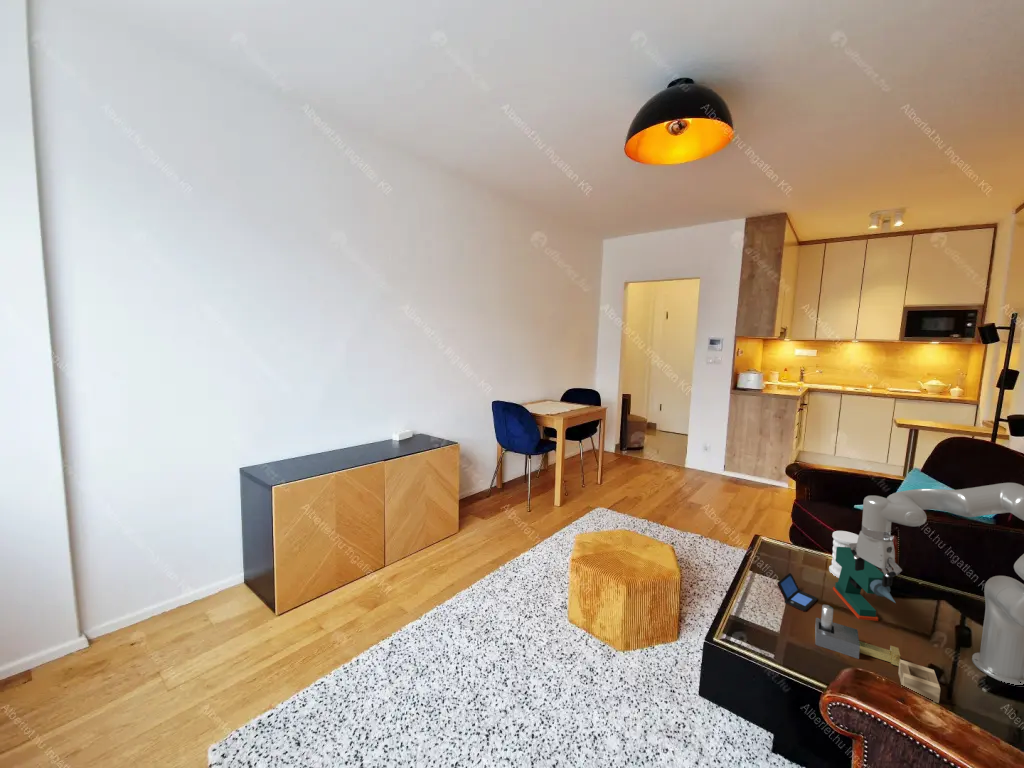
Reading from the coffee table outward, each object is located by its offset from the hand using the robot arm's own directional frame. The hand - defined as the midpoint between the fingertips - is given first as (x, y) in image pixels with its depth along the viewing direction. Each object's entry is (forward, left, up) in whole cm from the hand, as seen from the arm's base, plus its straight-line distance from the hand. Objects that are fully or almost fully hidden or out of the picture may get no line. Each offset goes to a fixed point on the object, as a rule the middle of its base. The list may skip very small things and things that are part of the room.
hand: (872, 577), depth 147 cm
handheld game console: (+21, -14, -25) cm, 36 cm away
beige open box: (-11, +16, -25) cm, 31 cm away
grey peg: (+12, +7, -25) cm, 29 cm away
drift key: (-1, +7, -25) cm, 25 cm away
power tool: (-1, -16, -25) cm, 30 cm away
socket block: (+9, +7, -25) cm, 27 cm away
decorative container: (+4, -45, -25) cm, 52 cm away
